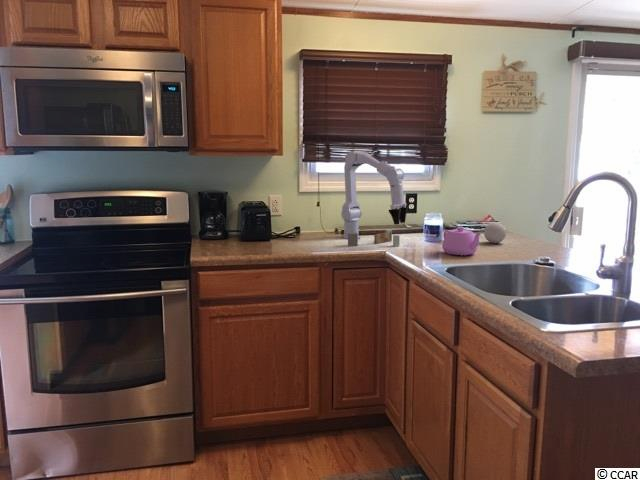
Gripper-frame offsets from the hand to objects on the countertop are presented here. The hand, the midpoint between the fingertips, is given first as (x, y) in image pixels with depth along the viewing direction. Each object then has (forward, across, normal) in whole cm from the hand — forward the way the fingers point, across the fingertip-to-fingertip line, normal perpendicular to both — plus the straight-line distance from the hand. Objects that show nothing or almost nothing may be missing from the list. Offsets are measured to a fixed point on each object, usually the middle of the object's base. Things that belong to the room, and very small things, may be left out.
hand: (399, 223), depth 239 cm
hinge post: (+9, +10, +10) cm, 17 cm away
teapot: (+15, -7, -30) cm, 34 cm away
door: (+9, +3, +11) cm, 14 cm away
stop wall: (+10, -2, +2) cm, 11 cm away
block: (+8, -10, +21) cm, 24 cm away
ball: (+15, +26, -37) cm, 47 cm away
